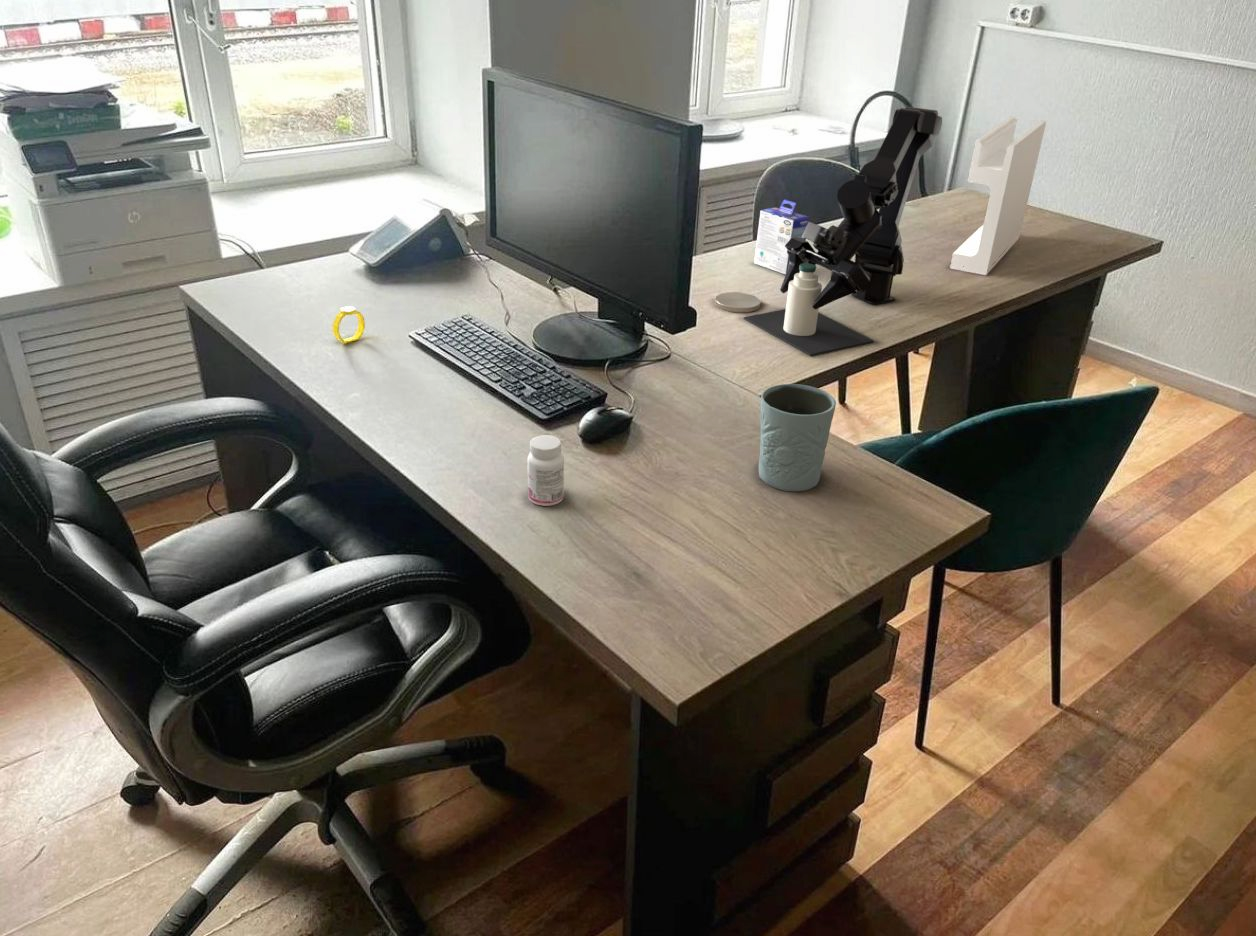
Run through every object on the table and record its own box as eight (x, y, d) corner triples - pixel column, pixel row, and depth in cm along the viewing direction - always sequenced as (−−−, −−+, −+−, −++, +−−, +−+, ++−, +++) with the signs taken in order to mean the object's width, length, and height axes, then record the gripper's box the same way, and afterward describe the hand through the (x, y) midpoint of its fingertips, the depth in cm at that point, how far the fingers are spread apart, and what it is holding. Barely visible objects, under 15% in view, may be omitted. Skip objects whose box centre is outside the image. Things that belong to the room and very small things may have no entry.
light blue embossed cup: (775, 499, 136) (785, 419, 130) (739, 464, 144) (747, 388, 138) (838, 486, 139) (851, 408, 133) (799, 453, 147) (810, 378, 141)
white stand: (986, 275, 223) (1014, 145, 209) (949, 268, 226) (975, 140, 212) (1019, 238, 249) (1046, 121, 236) (986, 232, 253) (1011, 116, 239)
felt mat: (804, 307, 201) (804, 305, 201) (873, 342, 186) (873, 340, 186) (743, 318, 194) (744, 316, 194) (810, 356, 179) (810, 354, 179)
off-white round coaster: (742, 294, 206) (742, 289, 206) (768, 308, 199) (769, 303, 199) (705, 300, 202) (706, 295, 201) (732, 315, 195) (732, 310, 195)
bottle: (801, 322, 192) (810, 258, 186) (822, 333, 188) (831, 268, 182) (776, 327, 190) (784, 263, 183) (796, 338, 185) (805, 272, 179)
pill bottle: (527, 488, 136) (527, 433, 131) (563, 488, 136) (563, 433, 132) (527, 507, 131) (527, 450, 127) (564, 506, 132) (564, 450, 128)
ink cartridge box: (803, 271, 220) (812, 205, 213) (786, 276, 217) (795, 209, 210) (769, 259, 227) (776, 195, 219) (753, 264, 223) (759, 198, 216)
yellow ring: (341, 347, 174) (338, 315, 171) (331, 343, 176) (327, 311, 173) (369, 338, 178) (365, 306, 176) (358, 334, 180) (355, 302, 177)
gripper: (799, 193, 186) (745, 258, 187) (868, 219, 172) (809, 290, 173) (826, 230, 194) (774, 293, 194) (894, 258, 180) (838, 326, 180)
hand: (797, 299), depth 185 cm, fingers open, 9 cm apart
